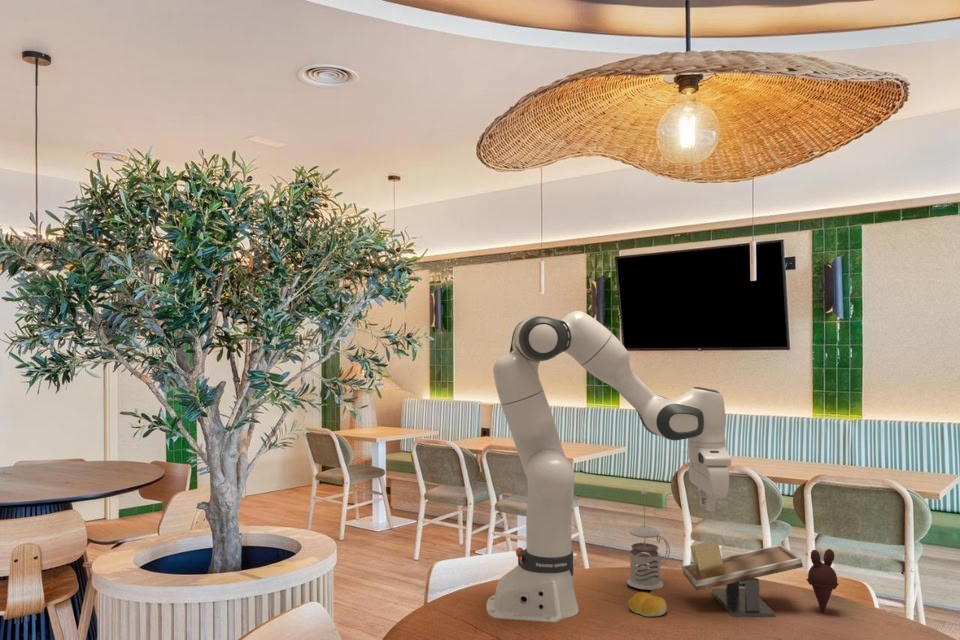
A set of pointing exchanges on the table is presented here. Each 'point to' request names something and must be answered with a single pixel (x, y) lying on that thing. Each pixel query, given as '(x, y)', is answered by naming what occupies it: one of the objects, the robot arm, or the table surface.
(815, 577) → the icecream
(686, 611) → the table surface
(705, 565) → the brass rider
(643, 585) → the french press
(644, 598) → the bread roll
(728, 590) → the pivot stand
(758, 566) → the balance beam
